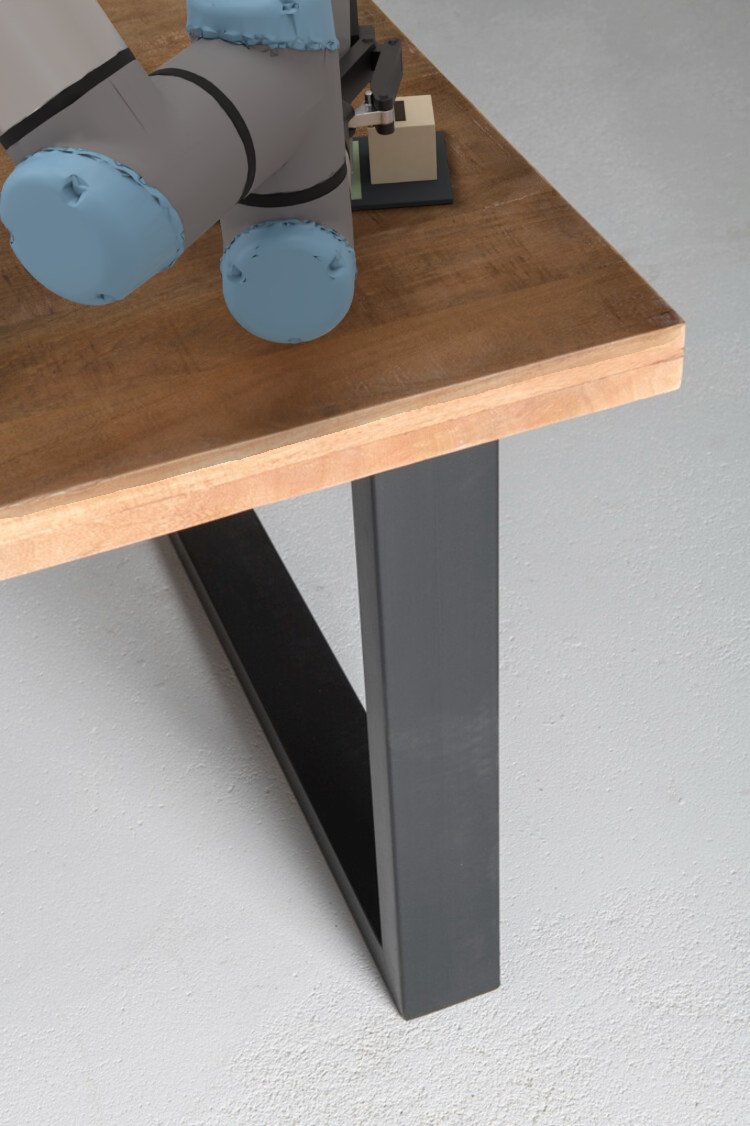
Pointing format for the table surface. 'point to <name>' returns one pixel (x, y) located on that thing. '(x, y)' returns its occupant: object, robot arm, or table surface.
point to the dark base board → (402, 161)
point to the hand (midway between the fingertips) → (293, 22)
